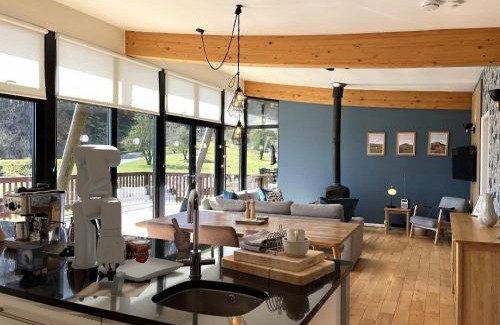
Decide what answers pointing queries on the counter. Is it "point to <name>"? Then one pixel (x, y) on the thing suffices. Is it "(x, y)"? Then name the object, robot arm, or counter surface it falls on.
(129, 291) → the cork mat
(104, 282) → the tile
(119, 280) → the tile
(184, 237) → the mortar and pestle
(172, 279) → the counter surface
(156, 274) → the square plate
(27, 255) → the small box
